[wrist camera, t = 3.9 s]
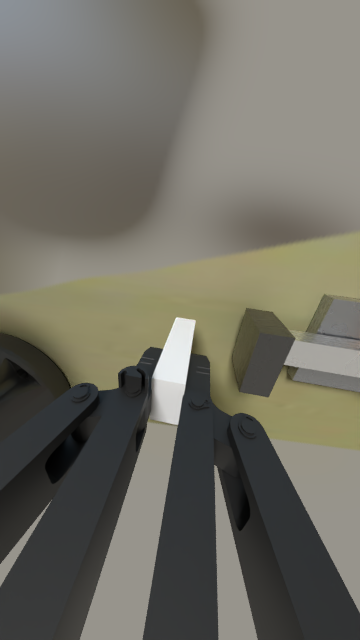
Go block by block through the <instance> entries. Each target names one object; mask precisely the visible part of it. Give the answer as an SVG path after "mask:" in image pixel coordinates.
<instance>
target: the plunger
mask: <svg viewBox="0 0 360 640" xmlns="http://www.w3.org/2000/svg"><path fill="white" fill-rule="evenodd" d="M232 359H233V364H234V369H235V374H236V379H237V383H238V388H239V392H243V393H248V394H254V395H259V396H264V397H269V395H270V393H271V391H272V389H273V386H274V384H275V382H276V380H277V378H278V376H279V373H280V371H281V369H282V367H283V365H288V366H294V367H300V368H306V369H312V370H317V371H323V372H329V373H335V374H341V375H347V376H352V377H358V378H360V341H359V340H353V339H346V338H340V337H333V336H327V335H320V334H314V333H308V332H301V331H295V330H288V329H287V328H286V327H285V326H284V324H283V323H282V322H281V321H280V320H279V319H278V318H277V317H276V315H275V314H274V313H273V312H269V311H262V310H256V309H249V308H246V311H245V314H244V318H243V321H242V325H241V328H240V332H239V335H238V338H237V342H236V345H235V349H234V352H233V355H232Z"/></svg>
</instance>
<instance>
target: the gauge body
mask: <svg viewBox="0 0 360 640" xmlns="http://www.w3.org/2000/svg"><path fill="white" fill-rule="evenodd" d="M306 332H308V333H314V334H320V335H327V336H333V337H340V338H346V339H353V340H359V341H360V299H356V298H348V297H341V296H334V295H326V294H324V296H323V298H322V300H321V302H320V304H319V307H318V309H317V311H316V313H315V315H314V317H313V319H312V321H311V323H310V325H309V327H308V329H307V331H306ZM287 372H288V374H289V375H290V377H291V379H292V380H294V381H300V382H306V383H311V384H317V385H323V386H328V387H334V388H340V389H345V390H351V391H356V392H360V378H358V377H352V376H347V375H341V374H335V373H329V372H323V371H317V370H312V369H306V368H300V367H294V366H290V367H289V369H288V371H287Z"/></svg>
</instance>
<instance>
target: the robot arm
mask: <svg viewBox="0 0 360 640" xmlns="http://www.w3.org/2000/svg"><path fill="white" fill-rule="evenodd" d="M194 327H195V320H190V319H184V318H178V317H176V319H175V322H174V324H173V327H172V329H171V331H170V334H169V336H168V339H167V341H166V344H165V346H164V349H160V348H154V347H150V348H149V349H147V350H146V351H145V352H144V354H143V356H142V358H141V359H140V361H139V363H138V364H137V366H130V367H126V368H124V369H122V370H121V371H120V372H119V373H118V381H119V388H117V389H113V390H103V391H98V388H97V387H96V386H95V385H94V384H91V383H82V384H79V385H75V386H74V387H72V388H70V387H69V385H68V383H67V381H66V379H65V377H64V375H63V374H62V372H61V371H60V370H59V369H58V367H57V366H56V365H55V364H54V363H53V362H52V361H51V360H50V359H49V358H48V357H47V356H46V355H44V354H43V353H42V352H41V351H39V350H38V349H36V348H35V347H33V346H32V345H30V344H28V343H26V342H25V341H23V340H20V339H18V338H16V337H13V336H10V335H7V334H3V333H0V564H1V562H2V561H3V560H4V559H5V557H6V556H7V555H8V554H9V552H10V551H11V550H12V548H13V547H14V546H15V545H16V544H17V542H18V541H19V540H20V538H21V537H22V536H23V535H24V534H25V532H26V531H27V530H28V529H29V527H30V526H31V525H32V524H33V522H34V521H35V520H36V519H37V517H38V516H39V515H40V514H41V512H42V511H43V510H44V509H45V507H46V506H47V505H48V504H49V502H50V501H51V500H52V501H51V503H50V504H49V506H48V508H47V509H46V511H45V513H44V515H43V516H42V518H41V520H40V521H39V523H38V524H37V526H36V528H35V530H34V531H33V533H32V535H31V536H30V538H29V540H28V541H27V543H26V545H25V546H24V548H23V550H22V551H21V553H20V555H19V557H18V558H17V560H16V562H15V563H14V565H13V567H12V568H11V570H10V572H9V573H8V575H7V577H6V578H5V580H4V582H3V583H2V585H1V587H0V640H80V636H81V633H82V630H83V627H84V624H85V621H86V618H87V614H88V611H89V608H90V605H91V602H92V599H93V596H94V593H95V590H96V586H97V583H98V580H99V577H100V573H101V571H102V567H103V565H104V561H105V558H106V555H107V552H108V549H109V546H110V542H111V539H112V536H113V533H114V530H115V527H116V524H117V520H118V518H119V514H120V511H121V508H122V505H123V502H124V499H125V496H126V492H127V489H128V486H129V483H130V480H131V477H132V473H133V471H134V467H135V464H136V461H137V458H138V455H139V452H140V449H141V445H142V442H143V439H144V436H145V433H146V428H147V421H148V418H149V415H150V419H152V420H157V421H161V422H166V423H171V424H175V425H178V428H177V434H176V440H175V446H174V452H173V458H172V465H171V471H170V477H169V483H168V489H167V495H166V502H165V507H164V513H163V519H162V526H161V531H160V537H159V544H158V550H157V556H156V562H155V568H154V574H153V580H152V587H151V593H150V598H149V604H148V610H147V616H146V623H145V629H144V635H143V640H218V606H217V564H216V524H215V482H214V465H216V466H217V468H218V472H219V476H220V481H221V485H222V489H223V493H224V498H225V502H226V506H227V510H228V515H229V519H230V523H231V527H232V532H233V536H234V540H235V544H236V549H237V553H238V557H239V561H240V565H241V569H242V574H243V578H244V583H245V587H246V591H247V595H248V599H249V603H250V608H251V612H252V616H253V620H254V625H255V629H256V633H257V638H258V640H360V613H359V611H358V609H357V607H356V605H355V603H354V601H353V599H352V597H351V596H350V594H349V592H348V590H347V588H346V586H345V584H344V582H343V580H342V578H341V576H340V574H339V572H338V571H337V569H336V567H335V565H334V563H333V561H332V559H331V557H330V555H329V553H328V551H327V549H326V547H325V546H324V544H323V542H322V540H321V538H320V536H319V534H318V532H317V530H316V528H315V526H314V525H313V522H312V521H311V519H310V517H309V515H308V513H307V511H306V510H305V507H304V505H303V503H302V502H301V499H300V497H299V496H298V494H297V492H296V490H295V488H294V486H293V484H292V482H291V480H290V478H289V476H288V474H287V472H286V471H285V469H284V467H283V465H282V463H281V461H280V459H279V457H278V455H277V453H276V451H275V449H274V447H273V446H272V444H271V442H270V440H269V438H268V436H267V434H266V432H265V430H264V428H263V427H262V425H261V424H260V423H259V422H258V421H257V420H256V419H255V418H254V417H252V416H250V415H248V414H244V413H238V414H235V415H234V416H233V417H232V416H230V415H228V414H226V413H224V412H222V411H221V410H219V409H218V408H217V407H216V406H215V405H214V404H213V402H212V400H211V397H210V362H209V360H208V358H207V357H206V356H203V355H197V354H191V346H192V340H193V333H194ZM53 497H54V498H53Z"/></svg>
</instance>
